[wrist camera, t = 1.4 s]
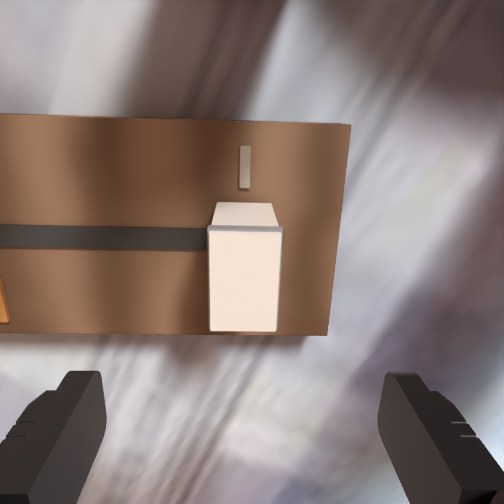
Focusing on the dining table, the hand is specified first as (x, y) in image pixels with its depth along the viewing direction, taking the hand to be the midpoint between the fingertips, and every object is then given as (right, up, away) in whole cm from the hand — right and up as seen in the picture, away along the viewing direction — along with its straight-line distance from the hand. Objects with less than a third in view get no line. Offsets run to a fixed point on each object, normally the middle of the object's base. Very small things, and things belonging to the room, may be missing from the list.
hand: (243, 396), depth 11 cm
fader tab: (0, +5, +12) cm, 13 cm away
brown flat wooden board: (-8, +6, +16) cm, 19 cm away
